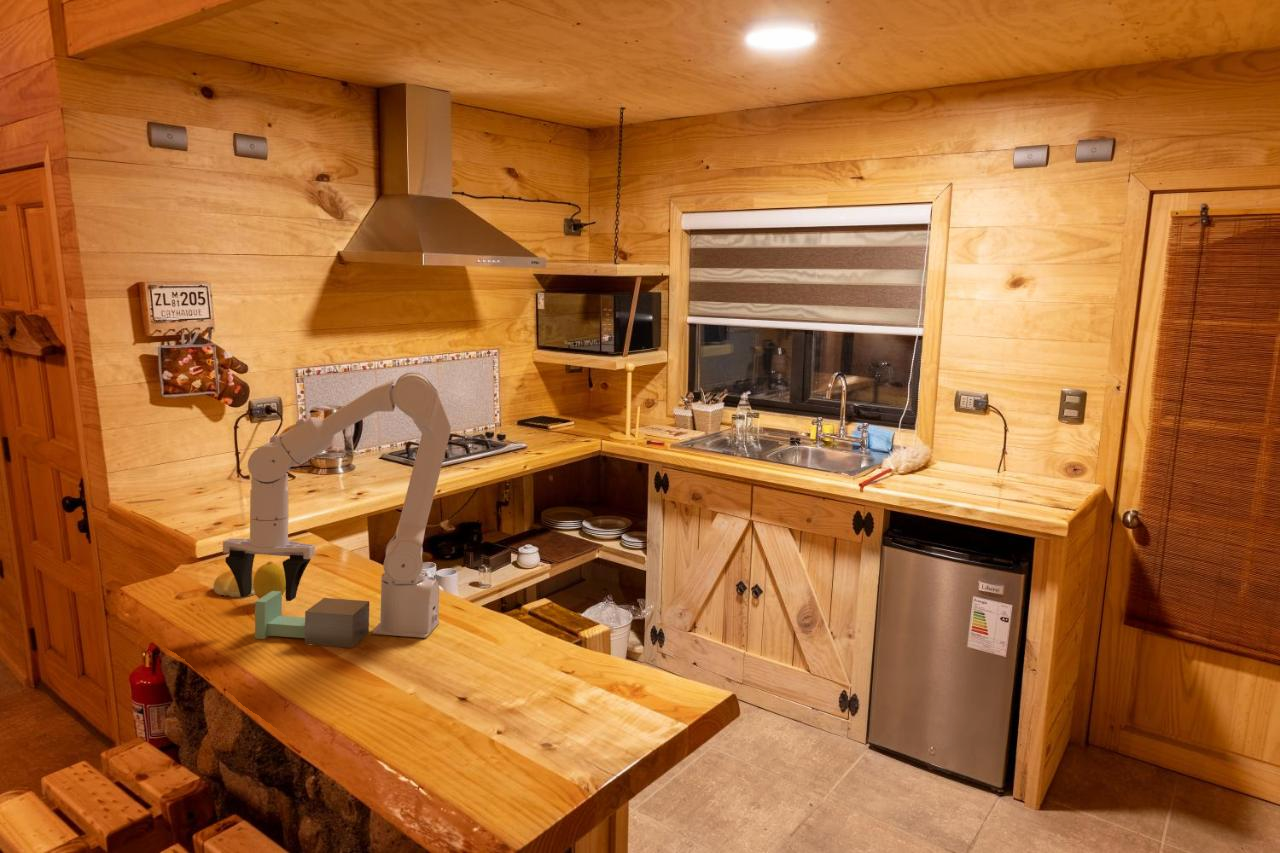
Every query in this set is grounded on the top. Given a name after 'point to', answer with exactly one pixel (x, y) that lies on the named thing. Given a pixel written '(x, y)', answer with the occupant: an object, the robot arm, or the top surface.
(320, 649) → the top surface
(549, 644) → the top surface
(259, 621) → the handle
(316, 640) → the block
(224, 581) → the bread roll
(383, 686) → the top surface
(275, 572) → the lemon
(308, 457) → the robot arm
